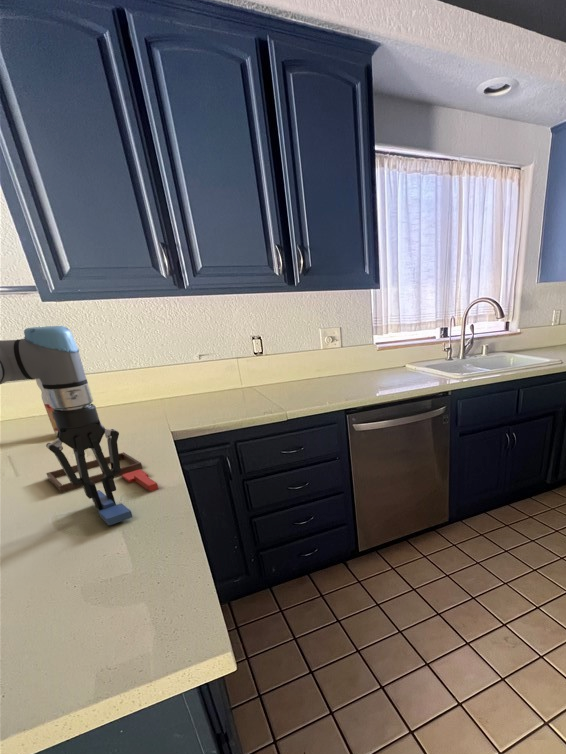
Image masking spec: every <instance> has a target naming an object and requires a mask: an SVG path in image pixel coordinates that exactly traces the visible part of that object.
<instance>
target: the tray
mask: <svg viewBox="0 0 566 754" xmlns="http://www.w3.org/2000/svg"><path fill="white" fill-rule="evenodd" d="M118 453H119V452H118ZM104 457H105V459H106V461H107V464H110V457H109V455H108V456H104ZM121 460H124V461H126V462H127V463H129V465H126V466H122V467H120V469H121V472H120V473H119V474H116V475H115V476H114V478H116V477H119V476H122V474H125V473H129V472H132V471H135V470H139V469H140V470H143V465H142V462H140V461H139V460H138V459H135V458H134V457H133V456H130V455H129V454H127V453H126V452H120V453H119V461H121ZM86 465H87V469H88V470H89V469H92V468H97V467H100V466H99V464H98V462H97V460H96V459H94V460H90V461H86ZM70 466H71V467H72V469H73V471H74V473H75V474H76V473H77V472H78V467H77V464H75V465H70ZM78 473H79V472H78ZM45 474H46V476H47V479H48V480H49V482H51V483H52V484H53V485H54V487H56V488H57V490H59V491H60V493H61V494H62V493H63V494H64V493H67V492H70V491H72V490H75V489H76V490H77V489H80V488H83V486H82V485H78V486H75V485H73V484H72V483H71V482H70V481H69V482H67V483H64V484H62V483H61V482H60V481H59V480H58V479H57V478H60V477H64V476H67V475H66V473H65V471H64V470H63V468H60V469H57V470H52V471H49V472H46V473H45ZM103 477H105V476H104V475H103V473H102V472H101V473H97V474H95V475H91V476H89V479H90V481H92V482H93V483H94V484H96V483H99V482H100V483H101V482H102V481H101V478H103Z"/></svg>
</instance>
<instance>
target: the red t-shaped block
mask: <svg viewBox="0 0 566 754" xmlns="http://www.w3.org/2000/svg"><path fill="white" fill-rule="evenodd" d="M121 477H122V479H124V480H125V481H126V482H128V483H129V484H132V483H135V482H136V483H137V484H139V485H140V486H142V487H143V488H144V489H146V490H147V491H149V492H153V491H154V492H155V491H157V490H159V485H158V483H157V482H156V481H154V480H153V479H151V478H150V477H149V474H148V473H147V472H146V471H144V470H143V469H139V470H135V471H132V472H129V473H125V474H122V475H121Z"/></svg>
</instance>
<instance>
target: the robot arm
mask: <svg viewBox="0 0 566 754" xmlns="http://www.w3.org/2000/svg"><path fill="white" fill-rule="evenodd" d="M23 334H24V336H23V338H20V339H19V338H18V339H5V340H0V385H2V384H5V383H8V382H17V381H28V380H29V381H30V380H36V379H40V380H41V382H42V386H43V388H44V391H45V394H46V397H47V400H48V403H49V406H50V407H52V408H54V409H53V411H52V414H53V417H54V420H55V422H56V425H57V428H58V434H57V436H56V437H57V438H56V439H55V440H53V441H52V442H47V443H46V445H45V447H46V449H48V450H49V451H50V452H52V453H53V454H54V456H55V457H56V459H57V461H58V463H59V465H60V466H61V469H63V470H64V471H65V473H66V475H65V476H66V477H67V479H68V480H69V483H70V482H71V483H72V484H73V485H75V486H78V485H82V486H83V487H82V488H83V492H84V494H85V496H86V497H87V498H88V499H91V500H92V498H93V500H94V502H93V503H94V506H95V508H96V509H97V510H98V511H100V510H103V508H102V505H101V501H100V498H99V495H98V492H97V491H98V488H97V486H96V483H93V482H92V481H90V479H89V477H90V475H89V469H87V465H86V462H87V460H86V453H85V452H86V450H89V449H90V450H91V451H92V453H93V456H94V457H95V460H97V462H98V464H99V466H98V467H99V469H100V471H101V473H103V475H104V476H105V477H103V478H101V481H100V482H101V484H102V487H103V490H104V494H105V495H106V496H107V497H108V498H109V499H110V500H112V501H113V502H114V504H115V505H117V502H116V500H115V496H114V494H113V492H116V491H117V486H116V482H115V477H114V476H115V475H116V474H119V473H120V472H121V469H120V468H121V462H120V461H121V460H119V447H118V439H119V435H120V432H119V431H118V430H116V429H114V428H110V429H109V428H105V426H104V425H103V424H102V422H101V420H100V417H99V414H98V411H97V408H96V405H95V404H93V402H94V397H93V395H92V392H91V389H90V385H89V382H88V379H87V376H86V373H85V368H84V365H83V362H82V358H81V355H80V349H79V347H78V346H77V343H76V340H75V338H74V336H73V333H72V330H71V329H69V328H68V327H66V326H63V325H60V326H59V325H49V326H34V327H27V328H25V329H24V330H23ZM103 437H105V439H106V441H107V449H108V456H109V457H110V463H107V461H106V459H105V457H106V456H105V454H104V452H103V448H102V447H101V445H100V444H101V441H102V439H103ZM62 444H65V445H66V446H68V447H69V448H71V450H72V451H73V454H74V457H75V463H76V465H77V467H78V476H79V477H78V476H77V474H76V472H75V473H74V471H73V469H72V467H71V466H72V465H71V464H70V462H69V460H68V458H67V456H66V455H65V453H64V452H63V450H64V446H63V445H62ZM109 465H110V466H109ZM93 500H92V501H93Z"/></svg>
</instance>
